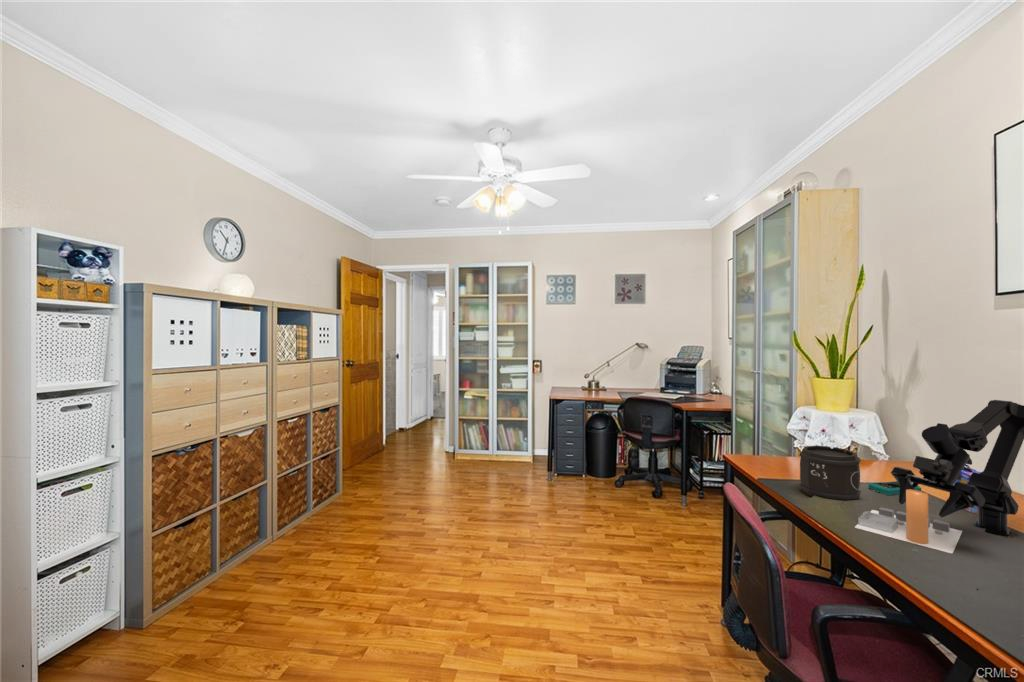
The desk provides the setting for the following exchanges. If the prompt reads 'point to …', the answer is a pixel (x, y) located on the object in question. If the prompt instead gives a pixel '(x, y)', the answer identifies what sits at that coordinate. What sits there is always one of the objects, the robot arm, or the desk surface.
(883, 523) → the socket collar
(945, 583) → the desk surface
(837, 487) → the black drum container
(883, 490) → the digital multimeter
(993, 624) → the desk surface
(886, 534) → the breaker panel
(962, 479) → the ink cartridge box
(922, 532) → the plug
